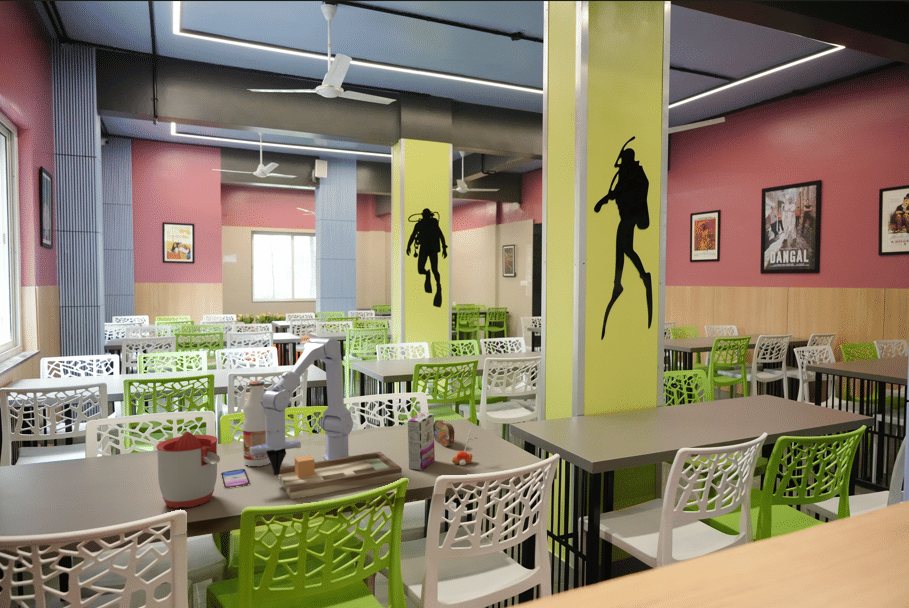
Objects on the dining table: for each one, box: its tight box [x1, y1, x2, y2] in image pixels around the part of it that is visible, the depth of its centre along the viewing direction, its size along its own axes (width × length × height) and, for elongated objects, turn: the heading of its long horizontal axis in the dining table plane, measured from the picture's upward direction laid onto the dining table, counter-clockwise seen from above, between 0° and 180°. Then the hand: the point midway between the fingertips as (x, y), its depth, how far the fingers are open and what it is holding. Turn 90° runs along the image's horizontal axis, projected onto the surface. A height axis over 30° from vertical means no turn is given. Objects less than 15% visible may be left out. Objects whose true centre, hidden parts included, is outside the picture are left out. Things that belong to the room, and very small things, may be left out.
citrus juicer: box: [155, 431, 221, 509], centre depth 156 cm, size 16×17×20 cm
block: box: [294, 454, 315, 478], centre depth 172 cm, size 5×5×5 cm
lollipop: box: [451, 428, 478, 466], centre depth 188 cm, size 6×10×12 cm, turn 107°
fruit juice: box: [242, 380, 271, 467], centre depth 189 cm, size 9×9×28 cm
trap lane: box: [277, 451, 403, 500], centre depth 174 cm, size 19×34×4 cm, turn 118°
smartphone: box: [220, 468, 251, 489], centre depth 174 cm, size 8×15×1 cm, turn 27°
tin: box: [434, 419, 456, 448], centre depth 211 cm, size 15×3×8 cm, turn 25°
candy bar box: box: [407, 412, 436, 471], centre depth 186 cm, size 11×5×16 cm, turn 159°
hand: (276, 474), depth 168 cm, fingers closed
